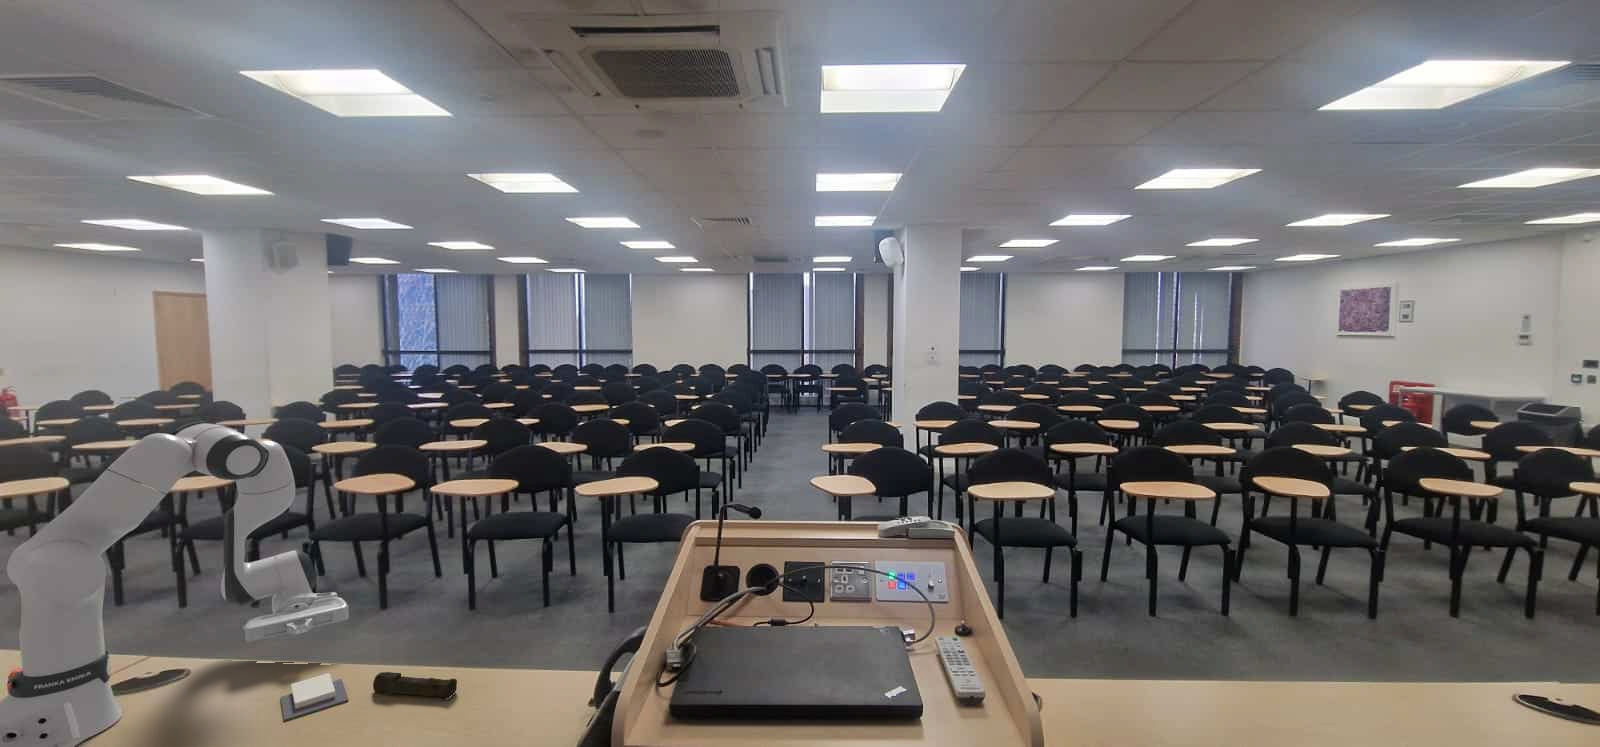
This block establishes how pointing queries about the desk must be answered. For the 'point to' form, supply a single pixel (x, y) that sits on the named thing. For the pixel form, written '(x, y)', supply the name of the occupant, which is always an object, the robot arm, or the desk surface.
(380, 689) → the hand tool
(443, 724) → the desk surface
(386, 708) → the desk surface
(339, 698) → the mat
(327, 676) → the tile
